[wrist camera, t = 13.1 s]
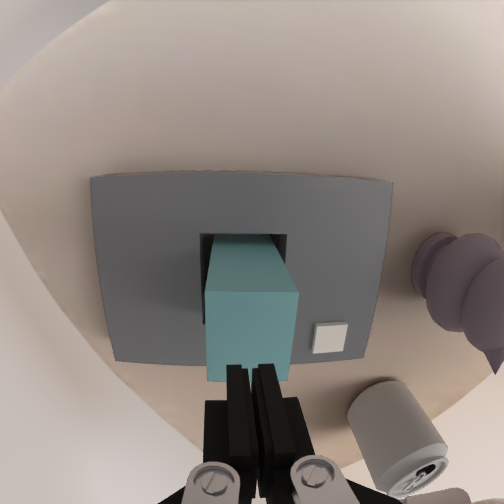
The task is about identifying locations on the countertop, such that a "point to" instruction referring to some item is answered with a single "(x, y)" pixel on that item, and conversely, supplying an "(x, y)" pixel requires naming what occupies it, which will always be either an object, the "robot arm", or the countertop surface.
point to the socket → (236, 222)
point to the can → (396, 439)
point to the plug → (248, 306)
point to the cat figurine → (464, 288)
